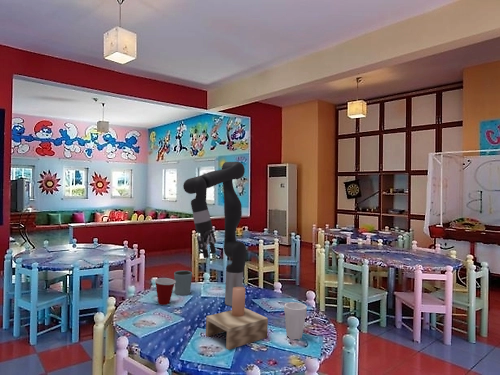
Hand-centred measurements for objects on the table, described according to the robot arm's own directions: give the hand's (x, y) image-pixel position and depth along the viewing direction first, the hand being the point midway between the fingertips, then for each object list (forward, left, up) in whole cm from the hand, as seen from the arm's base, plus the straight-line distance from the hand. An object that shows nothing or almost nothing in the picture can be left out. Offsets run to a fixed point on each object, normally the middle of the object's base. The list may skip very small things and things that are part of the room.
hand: (210, 255), depth 163 cm
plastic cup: (+4, -34, -31) cm, 46 cm away
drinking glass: (-12, -44, -31) cm, 55 cm away
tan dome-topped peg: (-4, +17, -22) cm, 29 cm away
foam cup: (-22, +34, -31) cm, 50 cm away
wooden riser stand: (-2, +20, -30) cm, 36 cm away
